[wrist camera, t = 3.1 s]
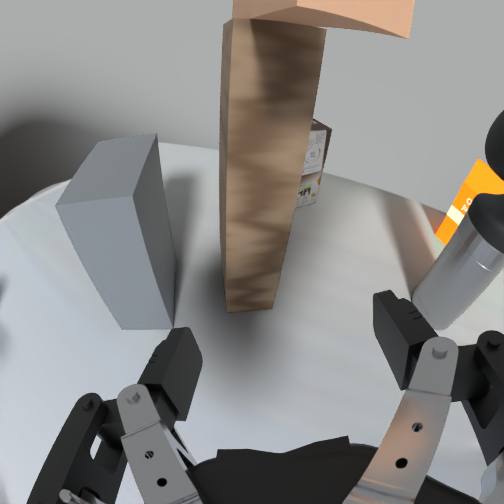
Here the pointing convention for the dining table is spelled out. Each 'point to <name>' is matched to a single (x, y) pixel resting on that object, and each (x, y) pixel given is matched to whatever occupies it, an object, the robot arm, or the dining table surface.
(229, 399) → the dining table surface
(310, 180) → the coffee box
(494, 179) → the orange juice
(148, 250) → the pedestal
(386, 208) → the dining table surface
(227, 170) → the stand
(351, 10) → the block
